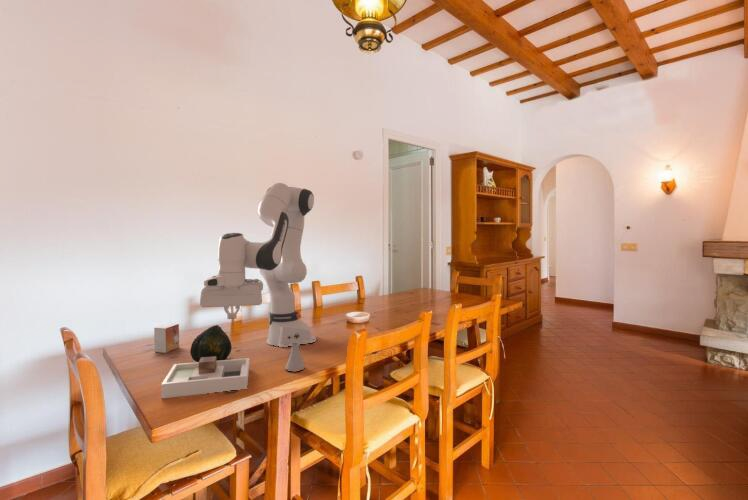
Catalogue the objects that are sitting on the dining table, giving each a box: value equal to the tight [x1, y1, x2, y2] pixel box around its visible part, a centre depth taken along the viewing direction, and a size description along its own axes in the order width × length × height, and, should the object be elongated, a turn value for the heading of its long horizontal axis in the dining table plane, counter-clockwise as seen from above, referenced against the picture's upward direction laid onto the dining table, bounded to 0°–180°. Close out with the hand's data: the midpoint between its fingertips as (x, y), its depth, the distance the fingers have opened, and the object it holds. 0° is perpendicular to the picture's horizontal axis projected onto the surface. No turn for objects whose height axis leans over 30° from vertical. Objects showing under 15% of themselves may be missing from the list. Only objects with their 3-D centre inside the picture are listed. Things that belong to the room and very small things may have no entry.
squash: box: [189, 324, 232, 362], centre depth 142 cm, size 14×15×15 cm
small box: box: [153, 322, 180, 354], centre depth 155 cm, size 8×6×10 cm
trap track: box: [160, 357, 250, 399], centre depth 123 cm, size 25×17×4 cm
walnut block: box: [199, 356, 216, 374], centre depth 126 cm, size 5×5×4 cm
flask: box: [284, 342, 306, 372], centre depth 136 cm, size 7×7×10 cm
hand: (232, 318), depth 127 cm, fingers closed
